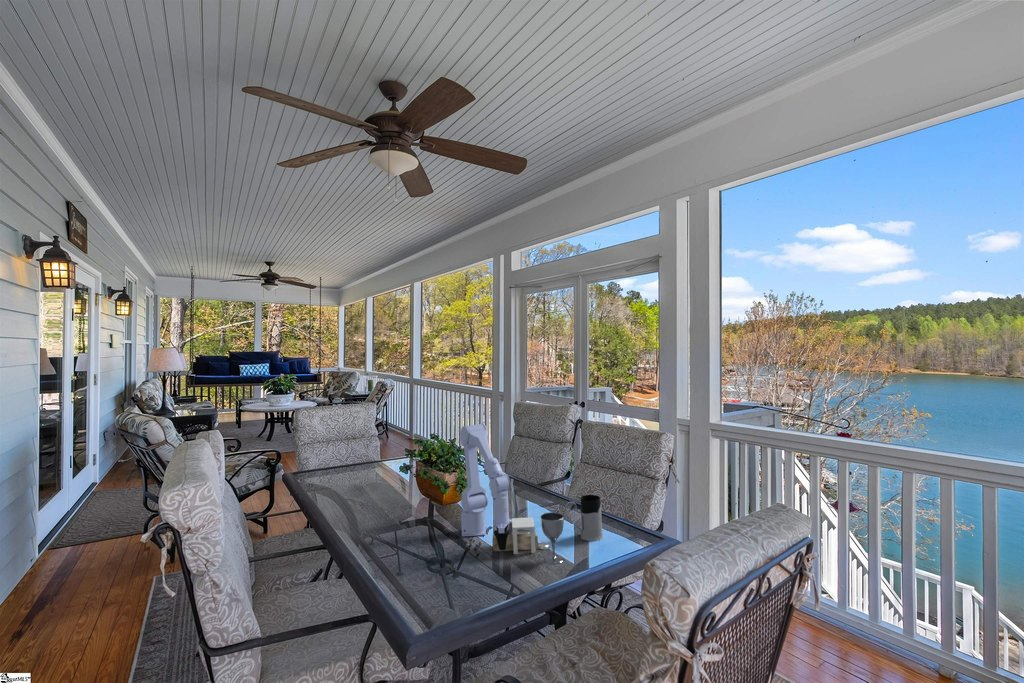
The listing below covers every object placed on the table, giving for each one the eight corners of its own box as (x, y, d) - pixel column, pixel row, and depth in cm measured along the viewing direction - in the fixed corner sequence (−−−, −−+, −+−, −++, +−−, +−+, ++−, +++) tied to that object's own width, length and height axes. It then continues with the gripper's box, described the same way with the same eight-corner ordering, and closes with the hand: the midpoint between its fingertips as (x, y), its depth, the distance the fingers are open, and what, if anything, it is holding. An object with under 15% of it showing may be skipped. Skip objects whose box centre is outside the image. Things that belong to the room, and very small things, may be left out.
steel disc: (544, 551, 170) (544, 548, 170) (535, 548, 173) (535, 545, 173) (552, 547, 173) (552, 544, 173) (543, 544, 176) (543, 541, 176)
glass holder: (605, 540, 176) (603, 500, 177) (568, 542, 176) (566, 502, 177) (601, 531, 185) (599, 493, 185) (565, 533, 185) (563, 495, 185)
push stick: (493, 551, 171) (492, 538, 171) (493, 549, 174) (492, 535, 174) (538, 549, 172) (537, 535, 172) (537, 546, 174) (537, 533, 174)
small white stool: (513, 555, 167) (512, 528, 167) (513, 543, 178) (512, 518, 178) (535, 554, 167) (534, 527, 168) (534, 542, 178) (533, 517, 178)
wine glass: (541, 555, 166) (539, 513, 167) (563, 553, 167) (561, 511, 167) (544, 565, 158) (542, 521, 159) (567, 563, 159) (565, 519, 159)
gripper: (511, 514, 166) (513, 553, 166) (511, 501, 180) (512, 537, 180) (492, 515, 166) (493, 554, 165) (493, 502, 180) (494, 537, 180)
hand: (502, 545), depth 173 cm, fingers open, 7 cm apart
